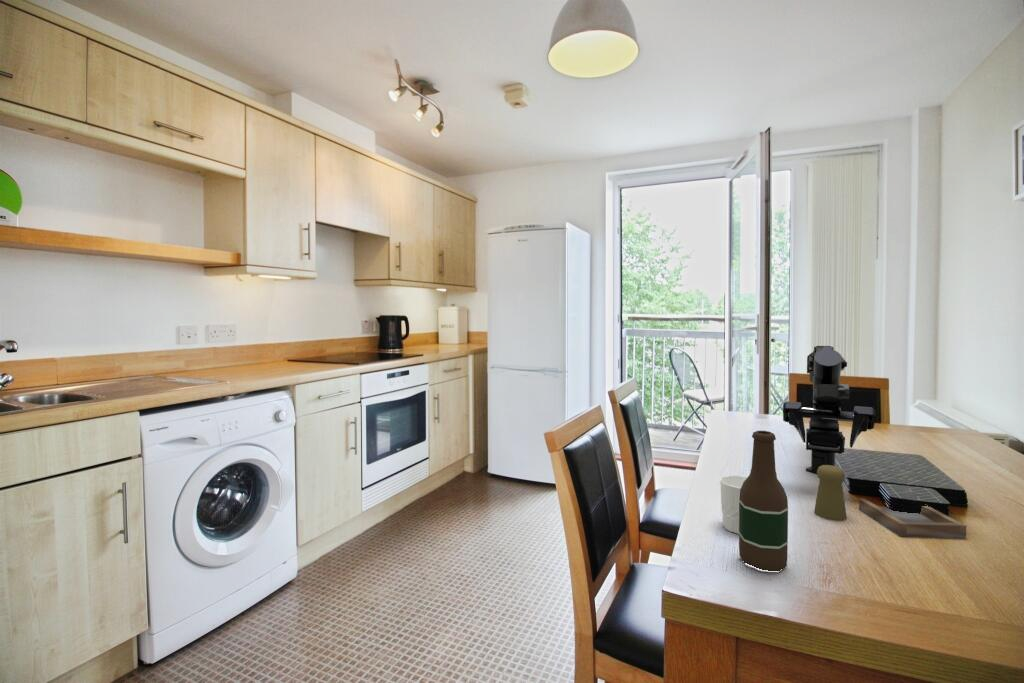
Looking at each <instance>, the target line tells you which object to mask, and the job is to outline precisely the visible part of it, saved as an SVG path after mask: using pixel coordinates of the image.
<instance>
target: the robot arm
mask: <svg viewBox="0 0 1024 683" xmlns="http://www.w3.org/2000/svg"><path fill="white" fill-rule="evenodd" d="M806 358H807V359H806V374H809V380H808V381H810V382H811V383H812V391H813V392H812V394H813V395H812V407H802V402H799V401H784V402H783V404H782V419H783V422H785V423H788V425H790V426H794V428H795V430H796V431H797V432H798V434H799V436H800V438H801V440H802V443H805V449H806V451H810V453H811V454H810V455H811V456H810V458H811V459H810V466H809V467H807V468H805V471H807V472H811V473H815V474H817V470H818V468H819V466H822V465H832V466H836V454H839V455H842V454H843V453H845V444H846V437H845V436H844V434H843V431H840V424H839V421H847V422H848V421H849V422H850V421H851V422H852V424H851V425H852V426H851V430H850V437H849V438H850V439H849V448H853V447H854V445H855V442H856V441H857V438H858V437H859V435H861V433H865V432H868V430H870V431H871V430H873V429H874V427H875V423H876V416H877V415H876V409H874V408H873V407H870V406H859V405H858V406H857V405H854V406H853V407H854V408H853V411H842V410H841V409H842V406H843V402H842V400H843V399H844V400H845V399H848V400H849V399H850V396H851V395H850V394H851V393H850V389H851V388H850V383H840V376H841V372H842V371H844V369H845V368H848V362H847V361H846V360H845V359H844V357H843V356H842V355H841V353H840V352H839V351H837V350H836V349H835V350H834V346H832V345H816V346H813V351H812V352H810V353H809V354H808V355H807V356H806ZM804 417H810V420H809V423H808V424H809V426H808V428H806V429H805V423H804Z"/></svg>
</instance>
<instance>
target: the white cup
mask: <svg viewBox="0 0 1024 683" xmlns="http://www.w3.org/2000/svg"><path fill="white" fill-rule="evenodd" d="M747 477H748V476H743V475H726V476H721V477H720V479H719V480H720V481H719V482H720V500H721V501H720V503H721V512H722V513H721V514H722V526H723V527H724V529H725V530H727V531H729V532H730V533H733V532H734V534H736V533H737V535H739V497H740V489H741V487H742V485H743V482H744V481H745V480H746V479H747Z"/></svg>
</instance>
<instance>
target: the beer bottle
mask: <svg viewBox="0 0 1024 683" xmlns="http://www.w3.org/2000/svg"><path fill="white" fill-rule="evenodd" d="M751 437H752V438H753V443H752V446H753V447H752V458H751V460H752V461H751V469H750V472H749V475H748V476H746V477H747V479H746V480H745V481H744V482H743V485H742V487H741V489H740V497H739V534H738V549H739V550H738V551H739V552H738V553H739V557H740V559H741V558H742V559H741V561H742V560H743V561H744V562H743V561H742V562H743V564H744V563H747V564H749V565H752V566H754V567H756V568H759V569H762V570H768V571H780V570H781V569H783V568H785V567H787V565H788V551H789V550H788V546H789V544H788V543H789V542H788V539H789V538H788V537H789V528H788V526H789V504H788V503H789V502H788V500H789V499H788V496H787V493H786V490H785V488H784V486H783V485H782V483H781V482H780V480H779V479H778V477H777V471H776V457H775V456H776V455H775V441H776V440H777V439H776V434H774V433H773V432H771V431H767V430H756V431H753V432H752V435H751ZM785 569H786V568H785ZM783 570H784V569H783ZM780 572H781V571H780Z"/></svg>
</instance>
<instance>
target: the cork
mask: <svg viewBox="0 0 1024 683" xmlns="http://www.w3.org/2000/svg"><path fill="white" fill-rule="evenodd" d="M816 475H817V478H818V479H819V484H818V488H817V493H816V499H815V504H814V505H815V506H814V510H813V514H814V515H816V516H817V517H819V518H822V519H825V520H829V521H836V522H841V521H846V520H847V519H848V518H847V517H848V516H847V512H846V511H847V510H846V503H845V496H844V488H843V483H844V482H845V479H846V473H845V471H844V469H842V468H841V467H840V466H836V465H835V466H832V465H822V466H819V468H818V470H817V473H816Z"/></svg>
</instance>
